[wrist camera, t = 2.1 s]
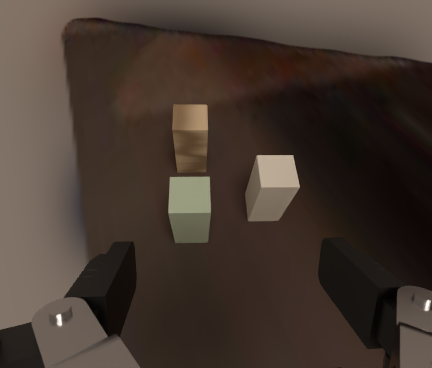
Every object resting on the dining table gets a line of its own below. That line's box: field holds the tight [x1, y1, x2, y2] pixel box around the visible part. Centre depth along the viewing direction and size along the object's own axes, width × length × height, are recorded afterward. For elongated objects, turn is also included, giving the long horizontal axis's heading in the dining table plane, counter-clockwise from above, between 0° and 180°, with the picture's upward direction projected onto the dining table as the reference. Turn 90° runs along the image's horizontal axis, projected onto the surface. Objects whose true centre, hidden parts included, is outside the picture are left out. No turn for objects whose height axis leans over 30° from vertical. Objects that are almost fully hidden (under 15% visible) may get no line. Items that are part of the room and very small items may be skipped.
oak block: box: [172, 104, 208, 172], centre depth 41 cm, size 4×4×10 cm
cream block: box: [245, 155, 300, 221], centre depth 37 cm, size 4×4×10 cm
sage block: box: [168, 177, 211, 243], centre depth 35 cm, size 4×4×10 cm
